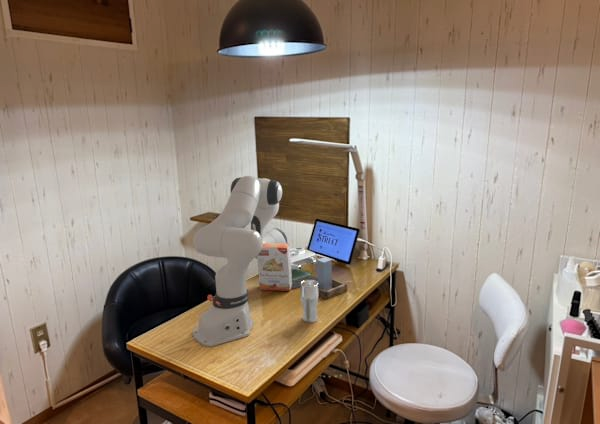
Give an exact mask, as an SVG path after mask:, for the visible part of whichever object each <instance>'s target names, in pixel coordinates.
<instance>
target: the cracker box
mask: <svg viewBox="0 0 600 424" xmlns="http://www.w3.org/2000/svg"><path fill="white" fill-rule="evenodd" d="M290 248H291V247H290V243H287V244H277V243H263V246H262V250H261V252H260V253H259V255H258V256H257V270H258V282H259V290H260V291H283V292H290V291H291V290H292V289H291V287H292V283H293V281H292V273H291V270H292V269H291V257H290Z"/></svg>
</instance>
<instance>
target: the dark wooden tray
mask: <svg viewBox="0 0 600 424" xmlns="http://www.w3.org/2000/svg"><path fill="white" fill-rule="evenodd" d="M318 290H319V297H321V298H323V299H325V300H327V299H330V298H333V297H334V296H337V295H339V294H342V293H345V292H347V291H348V284H347V283H345V282H342V281H340V280H338V279H335V278H333V277H332V289H330V290H328V291H326V290H323V289H321V288H319V287H318Z"/></svg>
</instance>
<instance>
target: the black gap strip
mask: <svg viewBox="0 0 600 424" xmlns="http://www.w3.org/2000/svg"><path fill="white" fill-rule="evenodd" d="M304 280H315V281H317V277H316V276H314V275H311V276H309V277H306V278H303V279H300V280H298V281H295V282H292V287H291V289H290V290H296V289H298V288H301V282H302V281H304Z"/></svg>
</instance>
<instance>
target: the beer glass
mask: <svg viewBox="0 0 600 424" xmlns="http://www.w3.org/2000/svg"><path fill="white" fill-rule="evenodd" d="M299 294H300V301H301V306H302V311H303V313H302V318H301V319H302V321H303V322H305V323H316V322H317V321H318V320H319V316H318V306H319V305H318V304H319V297H320V296H319V290H318V282H317V281H315V280H304V281H302V282H301V287H300V293H299Z"/></svg>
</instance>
